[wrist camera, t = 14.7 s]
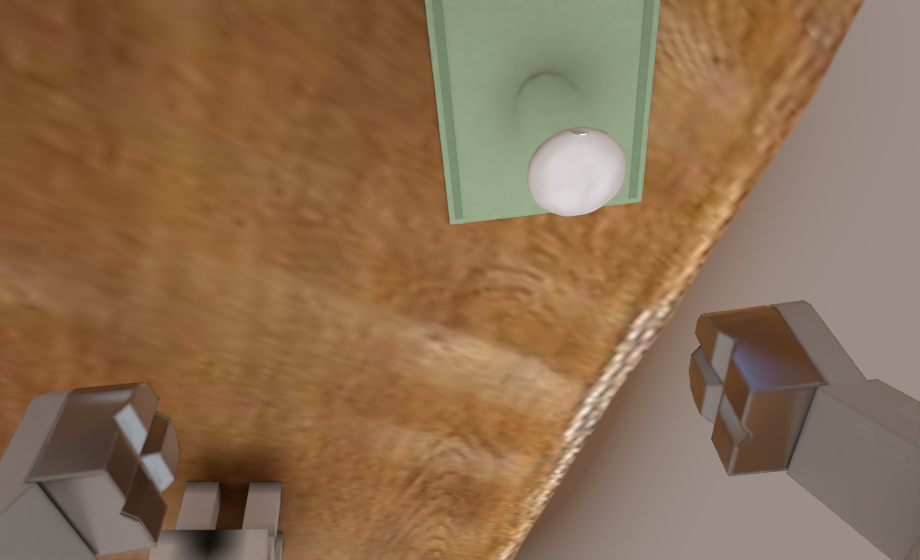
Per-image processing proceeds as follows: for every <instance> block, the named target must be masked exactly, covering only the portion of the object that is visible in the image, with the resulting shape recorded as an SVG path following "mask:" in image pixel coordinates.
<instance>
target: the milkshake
mask: <svg viewBox="0 0 920 560" xmlns="http://www.w3.org/2000/svg"><path fill="white" fill-rule="evenodd" d="M516 100H517V110H518V119H519V124H520V129H521V135H522V140H523V145H524V154H525V164H526V172H527V180H528V187H529V190H530V193H531V195H532V197H533V199H534V200H535V202H536V203H537V204H538V205H539V206H540V207H541V208H543V209H545V210H547V211H550V212H552V213H555V214H558V215H561V216H576V215H582V214H587V213H590V212H593V211H595V210H596V209H598V208H600V207H601V206H602V205H604V204H605V203H607V202H608V201H609V200H611V199H612V198H613V197H614V196H615V195H616V194H617V193H618V191H619V190H620V188H621V186H622V184H623V180H624V176H625V156H624V153H623V151H622V149H621V147H620V146H619V144H618V143H617V142H616V141H615V140H614V138H613V137H612V136H611V135H610V134H609V132H608V131H607V130H606V129H605V128H604V127H603V125H602V124H601V123H600V122H599V121H598V120H597V119H596V118H595V117H594V115H593V114H592V113H591V111H590V110H589V108H588V107H587V106H586V104H585V103H584V102H583V100H582V99H581V98H580V96H579V95H578V94H577V92H576V91H575V90H574V88H573V87H572V86H571V85H570V84H569V83H568V82H567V81H566V80H565V79H564V78H563V76H562V75H557V74H549V73H541V74H539V75H537V76H535V77H533V78H531V79H529V80H527V81H526V82H525V83H524V85H523V87H522V88H521V90H520V92H519V93H518V95H517V97H516Z"/></svg>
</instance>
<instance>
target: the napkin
mask: <svg viewBox="0 0 920 560" xmlns="http://www.w3.org/2000/svg"><path fill="white" fill-rule="evenodd" d="M425 8H426V17H427V26H428V35H429V44H430V52H431V61H432V70H433V79H434V88H435V96H436V105H437V114H438V123H439V132H440V141H441V149H442V158H443V167H444V176H445V185H446V193H447V202H448V211H449V220H450V225H453V224H461V223H469V222H478V221H486V220H494V219H503V218H511V217H519V216H527V215H536V214H544V213H552V212H550V211H547V210H545V209H543V208H541V207H540V206H539V205H538V204H537V203H536V202H535V200H534V199H533V197H532V195H531V193H530V190H529V187H528V180H527V172H526V164H525V154H524V145H523V140H522V135H521V129H520V124H519V119H518V110H517V100H516V97H517V95H518V93H519V92H520V90H521V88H522V87H523V85H524V83H525V82H526V81H527V80H529V79H531V78H533V77H535V76H537V75H539V74H541V73H549V74H557V75H562V76H563V78H564V79H565V80H566V81H567V82H568V83H569V84H570V85H571V86H572V87H573V88H574V90H575V91H576V92H577V94H578V95H579V96H580V98H581V99H582V100H583V102H584V103H585V104H586V106H587V107H588V108H589V110H590V111H591V113H592V114H593V115H594V117H595V118H596V119H597V120H598V121H599V122H600V123H601V124H602V125H603V127H604V128H605V129H606V130H607V131H608V132H609V134H610V135H611V136H612V137H613V138H614V140H615V141H616V142H617V143H618V144H619V146H620V147H621V149H622V151H623V153H624V156H625V176H624V180H623V184H622V186H621V188H620V190H619V191H618V193H617V194H616V195H615V196H614V197H613V198H612V199H611V200H609V201H608V202H607V203H605V204H604V205H602V206H611V205H619V204H627V203H636V202H641V201H642V190H643V180H644V169H645V159H646V148H647V137H648V127H649V116H650V106H651V95H652V85H653V74H654V63H655V53H656V42H657V32H658V21H659V11H660V0H425ZM602 206H601V207H602Z"/></svg>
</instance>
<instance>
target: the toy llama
mask: <svg viewBox="0 0 920 560" xmlns="http://www.w3.org/2000/svg"><path fill="white" fill-rule="evenodd" d="M281 500H282V498H281V482H250V485H249V491H248V497H247V503H246V509H245V515H244V520H243V526H242V530H215V527H216V523H217V518H218V513H219V508H220V503H221V495H220V487H219V482H187V485H186V489H185V493H184V497H183V501H182V504H181V508H180V512H179V516H178V520H177V524H176V528H175V530H161V531H160V535H159V539H158V542H157V546H156V547H155V548H151V551H150V555H149V558H148V560H282V556H283V532H278V524H279V516H280V508H281Z"/></svg>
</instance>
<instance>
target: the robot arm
mask: <svg viewBox="0 0 920 560" xmlns="http://www.w3.org/2000/svg"><path fill="white" fill-rule="evenodd" d="M695 334H696V336H697V338H698V340H699V342H700V344H701V345H700V346H699V347H698V348H697V349H696V350H695V351H694V352H693V353H692V354H691V359H690V367H689V375H690V385H691V391H692V394H693V398H694V401H695V403H696V406H697V408H698V410H699V413H700V415H701V416H703V417H704V418H706V419H707V420H709V421H710V422H712V423H713V424H714V429H713V434H712V438H711V439H712V442H713V443H714V446H715V448H716V450H717V452H718V455H719V457H720V459H721V461H722V463H723V465H724V468H725V469H726V472H727V474H728V476H736V475H746V474H756V473H767V472H776V471H787V474H788V475H789V476H790V477H792V478H793V479H794V480H795V481H797V482H798V483H799V484H800V485H801V486H803V487H804V488H805V489H806V490H807V491H809V492H810V493H811V494H812V495H813V496H815V497H816V498H817V499H818V500H819V501H821V502H822V503H823V504H824V505H826V506H827V507H828V508H829V509H830V510H832V511H833V512H834V513H835V514H836V515H838V516H839V517H840V518H841V519H843V520H844V521H845V522H846V523H847V524H849V525H850V526H851V527H852V528H854V529H855V530H856V531H857V532H858V533H860V534H861V535H862V536H863V537H864V538H866V539H867V540H868V541H869V542H871V543H872V544H873V545H874V546H875V547H877V548H878V549H879V550H880V551H881V552H883V553H884V554H885V555H886V556H888V557H889V558H890V559H891V560H920V402H919V401H917V400H916V399H913V398H912V397H910V396H908V395H906V394H904V393H902V392H901V391H899V390H897V389H895V388H893V387H891V386H889V385H887V384H885V383H884V382H882V381H880V380H878V379H874V380H866V378H865V377H864V376H863V374H862V373H861V372H860V371H859V369H858V368H857V366H856V365H855V364H854V362H853V361H852V359H851V358H850V357H849V355H848V354H847V353H846V351H845V350H844V349H843V347H842V346H841V345H840V343H839V342H838V340H837V339H836V338H835V336H834V335H833V334H832V332H831V331H830V330H829V328H828V327H827V326H826V324H825V323H824V322H823V320H822V319H821V317H820V316H819V315H818V313H817V312H816V311H815V309H814V308H813V307H812V305H811V304H809V303H808V302H805V301H804V300H803V301H795V302H787V303H780V304H772V305H769V306H758V307H750V308H742V309H735V310H727V311H719V312H712V313H704V314H701V316H700V317H699V319H698V321H697V326H696V331H695ZM158 400H159V397H158V396H157V394H156V392H155V391H154V389H153V387H152V386H151V384H150V383H144V382H139V383H128V384H118V385H108V386H97V387H87V388H77V389H74V390H63V391H53V392H42V393H40V394H39V395H37V396H36V397H35V398H33V399H32V400H31V402H30V403H29V405H28V407H27V409H26V411H25V413H24V415H23V417H22V419H21V421H20V423H19V425H18V427H17V428H16V430H15V432H14V434H13V436H12V438H11V440H10V442H9V444H8V446H7V448H6V450H5V452H4V454H3V456H2V457H1V459H0V560H97V558H96V556H103V555H109V554H116V553H123V552H129V551H136V550H142V549H149V548H155V547H156V546H157V542H158V539H159V535H160V531H161V528H162V524H163V520H164V517H165V513H166V510H167V505H166V503H165V501H164V499H163V498H162V496H161V493H162V492H163V491H164V490H165V489H166V488H167V487H168V486H169V485H170V484H171V483H172V482H173V481H174V480H175V476H176V472H177V468H178V464H179V441H178V437H177V433H176V429H175V427H174V425H173V423H172V421H171V420H170V418H169V417H167V416H165V415H163V414H161V413H159V412H158V411H156V407H157V404H158Z"/></svg>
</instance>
